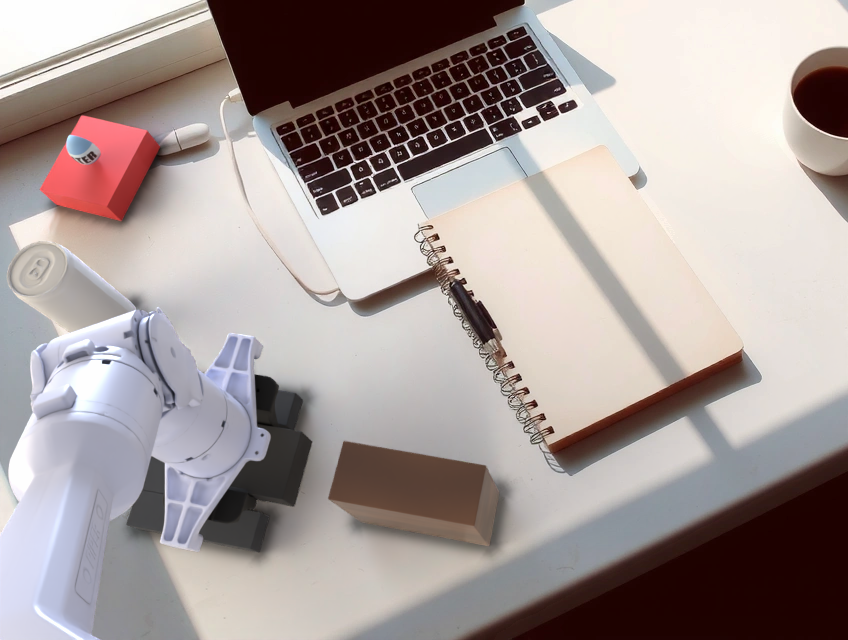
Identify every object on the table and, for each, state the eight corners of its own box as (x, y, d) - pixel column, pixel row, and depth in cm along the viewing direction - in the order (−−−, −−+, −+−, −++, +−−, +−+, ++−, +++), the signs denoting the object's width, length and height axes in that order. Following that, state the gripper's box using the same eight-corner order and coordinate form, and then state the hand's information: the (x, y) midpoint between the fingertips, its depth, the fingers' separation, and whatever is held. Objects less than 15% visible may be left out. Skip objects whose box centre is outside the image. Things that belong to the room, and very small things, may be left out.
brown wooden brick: (489, 546, 69) (474, 526, 60) (360, 522, 70) (327, 499, 62) (499, 492, 70) (486, 465, 62) (373, 469, 72) (343, 440, 63)
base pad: (259, 552, 70) (250, 549, 68) (137, 529, 71) (125, 524, 69) (303, 399, 75) (296, 392, 73) (188, 380, 76) (178, 372, 74)
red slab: (121, 221, 83) (86, 186, 77) (56, 204, 84) (17, 169, 79) (160, 146, 86) (129, 108, 80) (96, 131, 87) (61, 92, 82)
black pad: (294, 506, 69) (282, 499, 66) (194, 488, 70) (178, 480, 67) (312, 441, 71) (301, 431, 68) (215, 424, 72) (200, 413, 69)
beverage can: (75, 342, 78) (-9, 286, 67) (105, 292, 80) (28, 230, 69) (122, 361, 77) (45, 307, 66) (152, 310, 79) (81, 250, 68)
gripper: (205, 547, 55) (276, 573, 67) (275, 320, 61) (329, 382, 73) (96, 526, 56) (186, 555, 68) (175, 304, 62) (245, 368, 74)
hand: (254, 464), depth 71 cm, fingers closed on black pad, 5 cm apart
